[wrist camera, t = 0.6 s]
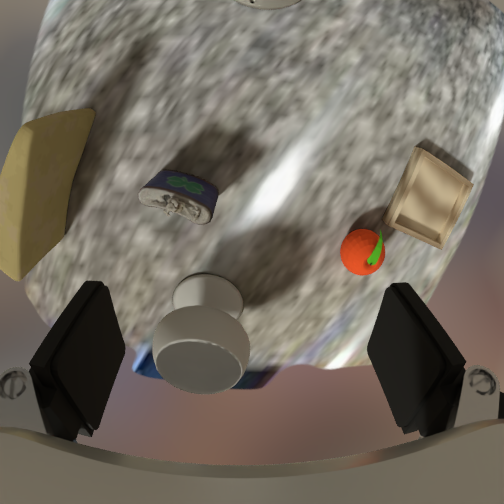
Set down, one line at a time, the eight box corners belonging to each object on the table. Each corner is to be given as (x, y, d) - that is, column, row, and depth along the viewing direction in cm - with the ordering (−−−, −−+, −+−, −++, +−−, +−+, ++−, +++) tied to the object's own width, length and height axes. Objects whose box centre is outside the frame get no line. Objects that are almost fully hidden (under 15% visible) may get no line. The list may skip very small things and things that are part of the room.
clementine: (350, 209, 42) (367, 228, 36) (385, 224, 44) (405, 245, 38) (327, 253, 46) (339, 277, 40) (362, 265, 47) (377, 290, 41)
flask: (155, 183, 40) (129, 208, 30) (160, 164, 39) (135, 183, 29) (215, 203, 42) (207, 235, 32) (222, 185, 40) (216, 211, 31)
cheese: (72, 95, 32) (6, 101, 19) (118, 124, 35) (60, 139, 22) (26, 210, 40) (-26, 250, 27) (64, 239, 43) (17, 287, 30)
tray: (414, 146, 38) (423, 149, 35) (465, 180, 40) (473, 184, 38) (381, 219, 43) (388, 225, 41) (434, 243, 46) (441, 249, 43)
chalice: (207, 251, 45) (194, 315, 32) (265, 305, 50) (272, 374, 37) (151, 298, 49) (127, 362, 36) (208, 343, 54) (201, 408, 41)
